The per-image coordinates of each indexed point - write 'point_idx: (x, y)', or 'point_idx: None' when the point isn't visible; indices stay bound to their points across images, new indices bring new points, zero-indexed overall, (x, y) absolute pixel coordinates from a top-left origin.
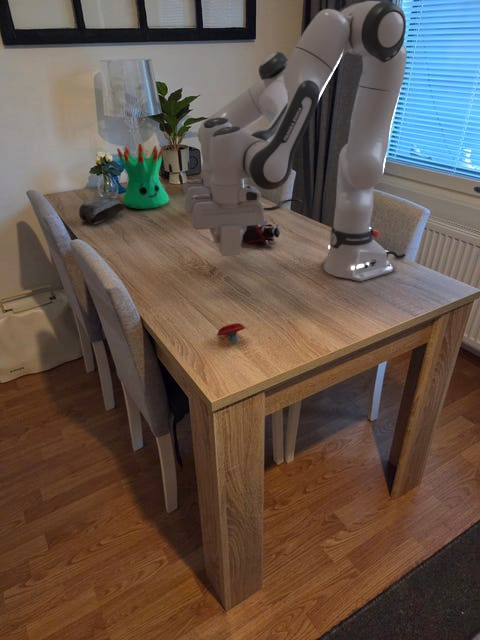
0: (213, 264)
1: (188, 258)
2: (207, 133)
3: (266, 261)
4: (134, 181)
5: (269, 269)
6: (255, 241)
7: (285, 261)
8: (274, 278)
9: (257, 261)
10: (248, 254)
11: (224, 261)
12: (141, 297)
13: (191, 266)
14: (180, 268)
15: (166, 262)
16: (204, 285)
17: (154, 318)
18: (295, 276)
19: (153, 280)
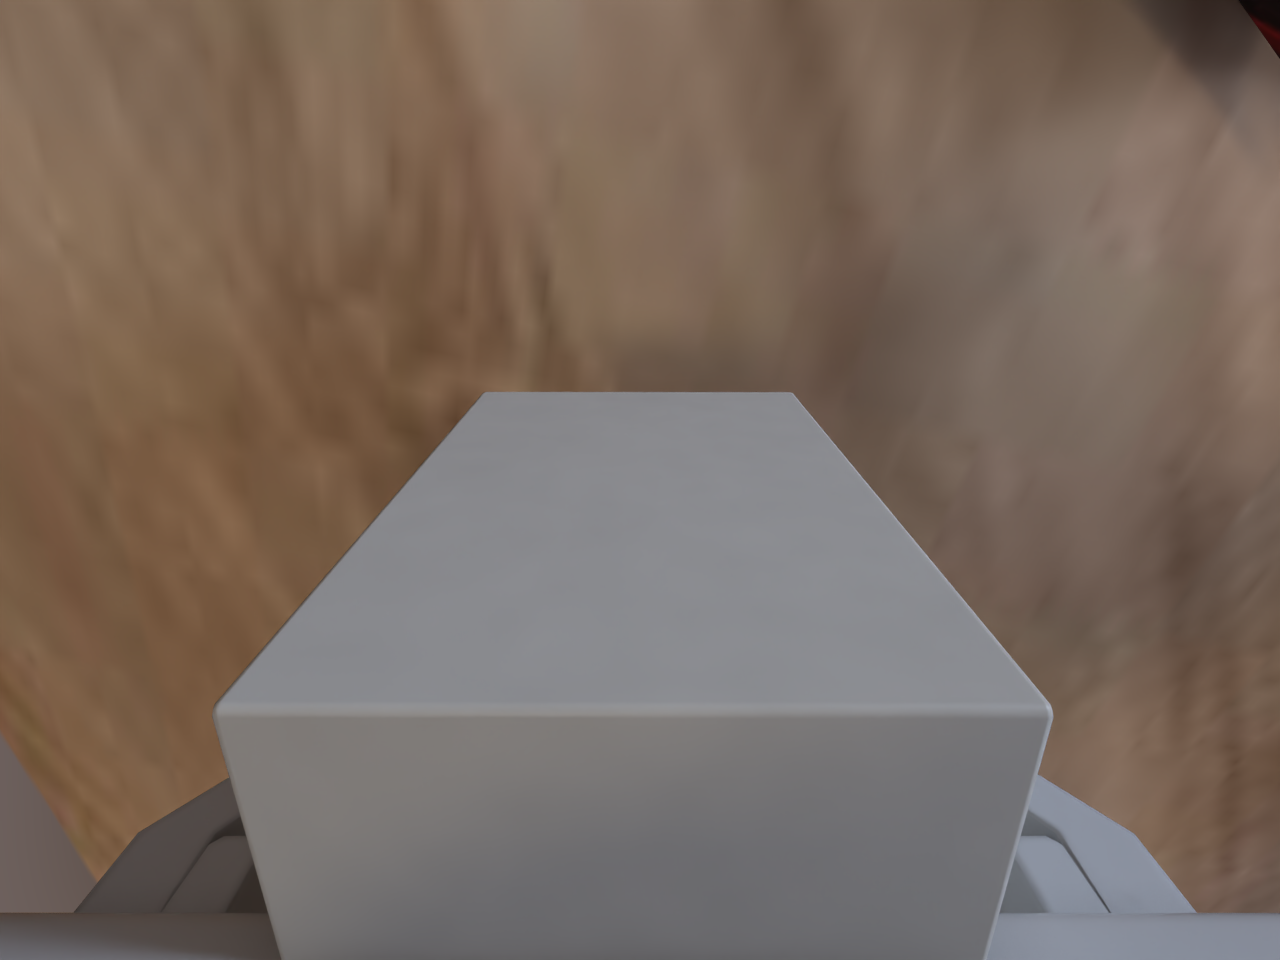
0: (594, 361)
1: (347, 146)
2: None
3: (1102, 405)
4: None
5: (1041, 562)
6: (1246, 1)
7: (1265, 443)
8: None
9: (1021, 386)
10: (1014, 188)
11: (713, 315)
12: (51, 763)
13: (381, 360)
14: (277, 381)
15: (115, 203)
16: None
17: None
18: (1162, 704)
19: (74, 556)
